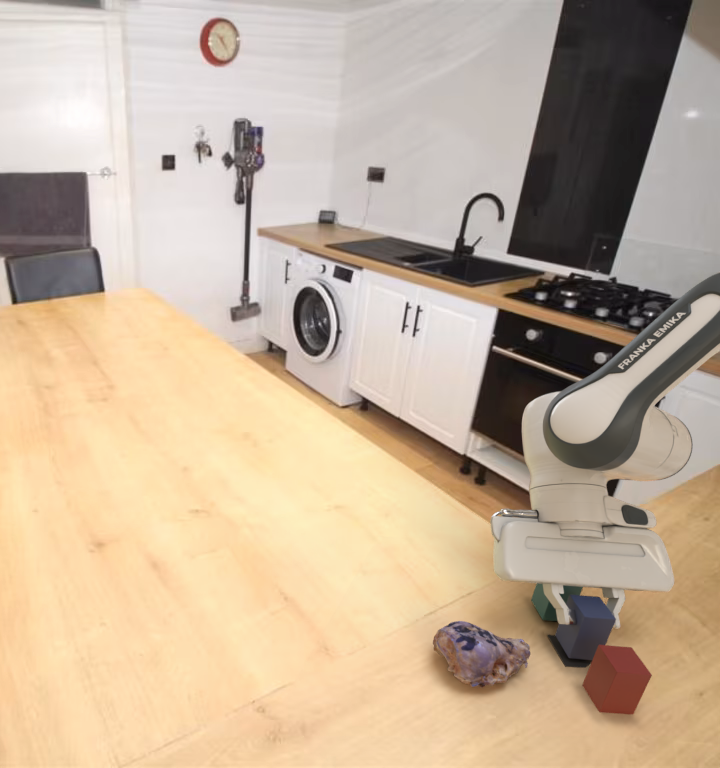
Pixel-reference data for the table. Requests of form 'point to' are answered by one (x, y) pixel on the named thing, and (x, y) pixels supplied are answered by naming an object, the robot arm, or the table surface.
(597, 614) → the blue block
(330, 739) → the table surface
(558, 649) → the block line
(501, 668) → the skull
